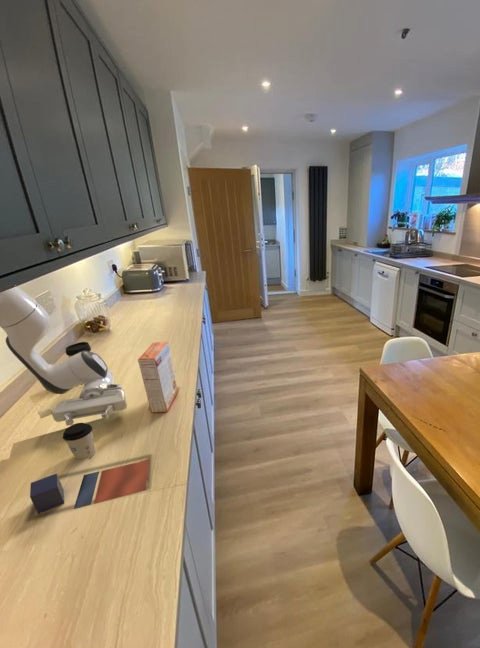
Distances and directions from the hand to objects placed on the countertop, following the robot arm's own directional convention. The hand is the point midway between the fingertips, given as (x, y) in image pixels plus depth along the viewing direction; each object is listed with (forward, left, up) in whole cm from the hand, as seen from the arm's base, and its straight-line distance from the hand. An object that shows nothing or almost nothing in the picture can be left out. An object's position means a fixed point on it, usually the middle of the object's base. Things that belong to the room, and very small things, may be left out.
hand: (86, 420), depth 97 cm
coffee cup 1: (-9, +42, -6) cm, 44 cm away
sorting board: (+5, -24, -6) cm, 25 cm away
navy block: (-4, -26, -6) cm, 26 cm away
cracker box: (+21, +12, -6) cm, 25 cm away
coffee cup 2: (0, -10, -6) cm, 11 cm away
